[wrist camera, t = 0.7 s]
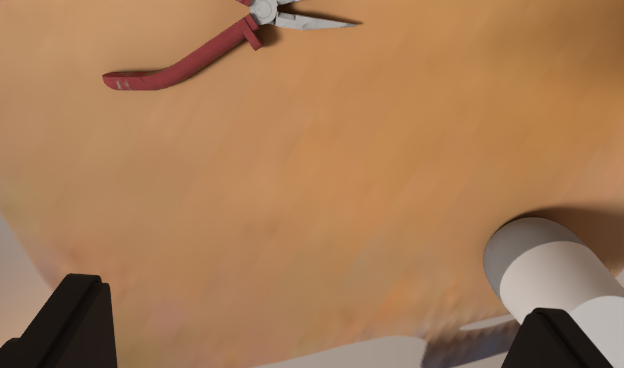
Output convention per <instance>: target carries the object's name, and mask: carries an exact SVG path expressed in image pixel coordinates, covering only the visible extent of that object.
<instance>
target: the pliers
mask: <svg viewBox="0 0 624 368" xmlns="http://www.w3.org/2000/svg"><path fill="white" fill-rule="evenodd" d="M236 1H238V2H240V3H242V4H244V5H246V6H248V7H249V6H250V12H251V13H250V14H249V15H247V16H246V17H244V18H243V19H241V20H240V21H238V22H237V23H235V24H234V25H232V26H231V27H229V28H228V29H226V30H225V31H223V32H222V33H220V34H219V35H217V36H216V37H214V38H213V39H212V40H210V41H209V42H207V43H206V44H204V45H203V46H201V47H200V48H198V49H197V50H195V51H194V52H192V53H191V54H189V55H188V56H186V57H185V58H184V59H182V60H181V61H179V62H177V63H176V64H174V65H172V66H170V67H168V68H165V69H162V70H158V71H153V72H116V73H106V74H104V75H102V77H103V81H104V83H105V84H106V85H107V86H108V87H110V88H112V89H115V90H160V89H164V88H168V87H170V86H173V85H175V84H177V83H179V82H181V81H183V80H185V79H187V78H188V77H190V76H191V75H193V74H194V73H196V72H197V71H199V70H200V69H202V68H203V67H205V66H206V65H208V64H209V63H211V62H212V61H214V60H215V59H217V58H218V57H220V56H221V55H223V54H224V53H226V52H227V51H229V50H230V49H232V48H233V47H235V46H236V45H238V44H239V43H241V42H242V41H244V40H245V39H247V40H248V42H249V43H250V45H251V46H252V47H253V49H254V50H255V51H256V50H258V49H259V48H261V47H262V46H263V42H262V41H261V39H260V38H259V36H258V34H257V33H256V30H258V29H259V28H260V25H262V24H273V25H275V26H279V27H285V28H292V29H299V30H313V29H326V28H339V27H353V26H356V24H350V23H345V22H339V21H333V20H328V19H322V18H316V17H311V16H305V15H299V14H294V15H292V14H286V13H281V12H278V11H277V6H278V5H282V4H286V3H290V2H294V1H295V2H296V1H300V0H236Z"/></svg>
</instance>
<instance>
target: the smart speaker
mask: <svg viewBox="0 0 624 368" xmlns="http://www.w3.org/2000/svg"><path fill="white" fill-rule="evenodd" d="M483 266H484V271H485V275H486V277H487V280H488V282H489V284H490V286H491V288H492V289H493V291H494V292H495V294H496V295H497V296H498V298H499V299H500V300H501V302H502V303H503V304H504V305H505V307H506V308H507V309H508V310H509V311H510V313H511V314H512V315H513V316H514V317H515V318H516V320H517V321H518V322H519V323H520V324H521V325H522V323H523V320H524V318H525V317H526V315H527V314H529V313H531V312H532V311H533V309H535V308H538V307H542V308H556V309H563V310H565V311H566V312H567V313H568V314H569V315H570V316H571V317H572V318H573V319H574V321H575V322H576V323H577V324H578V325H579V327H580V328H581V329H582V330H583V331H584V333H585V334H586V335H587V336H588V337H589V338H590V340H591V341H592V342H593V343H594V344H595V346H596V347H597V348H598V349H599V350H600V352H601V353H602V354H603V355H604V356H605V358H606V359H607V360H608V361H609V362H610V364H611V365H612V366H613V367H614V368H624V288H623V287H622V286H621V285H620V284H619V282H618V281H617V280H616V279H615V278H614V276H613V275H612V274H611V273H610V272H609V271H608V269H607V268H606V267H605V266H604V265H603V263H602V262H601V261H600V260H599V259H598V258H597V256H596V255H595V254H594V253H593V252H592V251H591V250H590V248H589V247H588V246H587V245H586V244H585V243H584V242H583V241H582V240H581V239H580V238H579V237H577V236H576V235H575V234H574V233H573V232H571V231H570V230H569V229H567V228H566V227H564V226H562V225H560V224H559V223H556V222H554V221H551V220H548V219H544V218H537V217H528V218H522V219H518V220H515V221H512V222H510V223H508V224H506V225H505V226H503V227H502V228H500V229H499V230H498V231H497V232H496V233H495V234H494V235H493V236H492V237H491V239H490V240H489V242H488V243H487V245H486V248H485V251H484V256H483Z"/></svg>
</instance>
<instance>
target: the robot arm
mask: <svg viewBox="0 0 624 368" xmlns="http://www.w3.org/2000/svg"><path fill="white" fill-rule="evenodd" d="M0 368H117V357H116V347H115V336H114V325H113V315H112V304H111V293H110V286H109V284H108V283H102V280H101V278H100V276H98V275H86V274H73V273H70V274H68V275H67V276H66V277H65V278H64V279H63V280H62V282H61V283H60V284H59V286H58V287H57V288H56V290H55V291H54V292H53V294H52V295H51V296H50V298H49V299H48V301H47V302H46V303H45V305H44V306H43V307H42V309H41V310H40V311H39V313H38V314H37V315H36V317H35V318H34V320H33V321H32V322H31V323H30V325H29V326H28V328H27V329H26V330H25V332H24V333H23V334H22V336H21V337H20V338H12V339H10V340H8V341H7V342H6V343H5V344H4V345H3V346H2V347H1V348H0ZM501 368H614V367H613V366H612V365H611V364H610V362H609V361H608V360H607V359H606V358H605V356H604V355H603V354H602V353H601V352H600V350H599V349H598V348H597V347H596V346H595V344H594V343H593V342H592V341H591V340H590V338H589V337H588V336H587V335H586V334H585V333H584V331H583V330H582V329H581V328H580V327H579V325H578V324H577V323H576V322H575V321H574V319H573V318H572V317H571V316H570V315H569V314H568V313H567V312H566V311H565V310H563V309H556V308H542V307H538V308H535V309H533V311H532V312H531V313H529V314H527V315H526V317H525V318H524V320H523V323H522V325H521V327H520V329H519V331H518V333H517V335H516V337H515V339H514V341H513V344H512V346H511V348H510V350H509V352H508V354H507V356H506V358H505V360H504V363H503V365H502V367H501Z"/></svg>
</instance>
